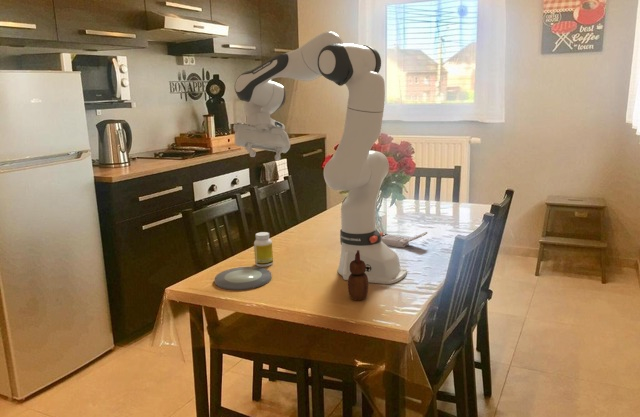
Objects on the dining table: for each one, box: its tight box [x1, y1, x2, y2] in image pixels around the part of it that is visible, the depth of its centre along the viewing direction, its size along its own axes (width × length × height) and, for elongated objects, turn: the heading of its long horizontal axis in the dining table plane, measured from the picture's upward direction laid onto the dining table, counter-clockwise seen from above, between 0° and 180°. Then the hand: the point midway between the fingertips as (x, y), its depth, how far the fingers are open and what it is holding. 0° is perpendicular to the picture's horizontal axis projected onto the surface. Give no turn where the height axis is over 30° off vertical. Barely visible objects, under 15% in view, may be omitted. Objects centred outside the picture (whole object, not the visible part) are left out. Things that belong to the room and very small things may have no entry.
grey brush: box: [381, 231, 428, 248], centre depth 202 cm, size 6×6×25 cm
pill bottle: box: [253, 231, 274, 268], centre depth 184 cm, size 6×6×11 cm
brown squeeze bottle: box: [347, 250, 369, 301], centre depth 151 cm, size 7×6×15 cm
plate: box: [214, 266, 272, 291], centre depth 171 cm, size 18×18×1 cm
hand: (265, 157), depth 185 cm, fingers open, 8 cm apart
